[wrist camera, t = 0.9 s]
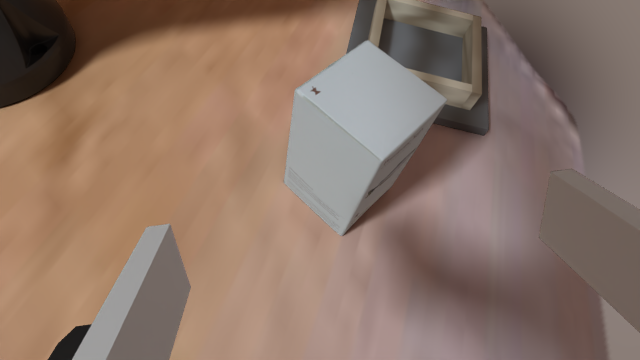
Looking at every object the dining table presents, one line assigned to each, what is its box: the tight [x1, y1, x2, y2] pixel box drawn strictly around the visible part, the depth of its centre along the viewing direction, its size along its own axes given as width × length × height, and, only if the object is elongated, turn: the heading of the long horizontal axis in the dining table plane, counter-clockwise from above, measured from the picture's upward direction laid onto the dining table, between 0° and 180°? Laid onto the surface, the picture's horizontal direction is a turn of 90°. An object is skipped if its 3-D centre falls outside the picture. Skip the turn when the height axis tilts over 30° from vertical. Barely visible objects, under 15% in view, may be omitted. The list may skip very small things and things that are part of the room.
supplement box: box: [284, 40, 447, 236], centre depth 30 cm, size 7×7×13 cm
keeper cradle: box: [346, 0, 489, 135], centre depth 43 cm, size 16×16×4 cm
